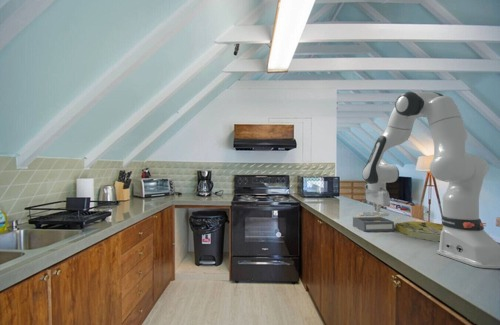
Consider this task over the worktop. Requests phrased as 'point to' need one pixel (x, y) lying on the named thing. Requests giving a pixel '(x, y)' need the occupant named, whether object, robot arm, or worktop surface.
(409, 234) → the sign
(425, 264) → the worktop surface
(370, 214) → the switch
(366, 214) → the switch
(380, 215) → the switch
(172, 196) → the worktop surface
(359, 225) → the box
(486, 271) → the worktop surface
